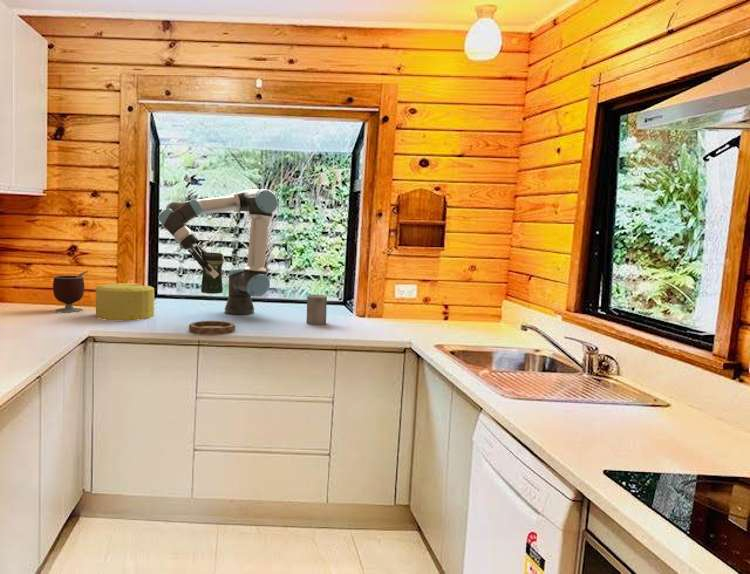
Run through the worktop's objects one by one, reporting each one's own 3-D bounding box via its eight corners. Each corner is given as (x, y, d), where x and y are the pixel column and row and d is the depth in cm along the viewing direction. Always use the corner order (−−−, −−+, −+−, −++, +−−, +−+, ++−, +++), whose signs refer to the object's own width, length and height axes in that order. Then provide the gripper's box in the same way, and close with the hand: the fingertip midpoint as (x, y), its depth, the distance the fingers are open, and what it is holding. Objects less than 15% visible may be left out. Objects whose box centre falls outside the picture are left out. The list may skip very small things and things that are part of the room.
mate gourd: (53, 313, 288) (53, 272, 286) (52, 309, 300) (52, 269, 298) (89, 312, 296) (88, 272, 294) (86, 308, 308) (86, 269, 306)
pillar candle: (311, 320, 301) (312, 291, 299) (329, 322, 297) (330, 292, 296) (302, 324, 292) (303, 293, 290) (321, 325, 288) (321, 295, 287)
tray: (228, 325, 278) (228, 320, 277) (239, 333, 261) (239, 327, 261) (185, 327, 269) (185, 321, 268) (194, 335, 252) (194, 329, 252)
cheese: (161, 313, 303) (161, 284, 302) (143, 322, 277) (143, 290, 276) (109, 311, 302) (109, 281, 301) (85, 319, 276) (85, 287, 275)
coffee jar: (223, 292, 279) (224, 252, 277) (221, 294, 271) (222, 253, 270) (202, 291, 278) (203, 251, 276) (199, 293, 270) (200, 252, 268)
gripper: (188, 243, 284) (220, 279, 285) (171, 244, 263) (206, 283, 264) (199, 232, 283) (232, 268, 284) (183, 233, 262) (218, 272, 263)
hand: (219, 275), depth 274 cm, fingers closed on coffee jar, 8 cm apart
